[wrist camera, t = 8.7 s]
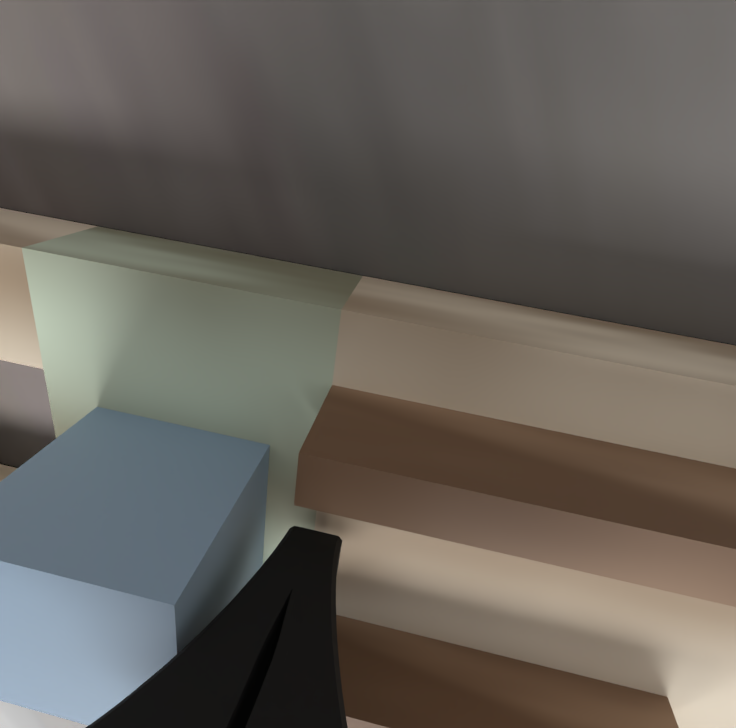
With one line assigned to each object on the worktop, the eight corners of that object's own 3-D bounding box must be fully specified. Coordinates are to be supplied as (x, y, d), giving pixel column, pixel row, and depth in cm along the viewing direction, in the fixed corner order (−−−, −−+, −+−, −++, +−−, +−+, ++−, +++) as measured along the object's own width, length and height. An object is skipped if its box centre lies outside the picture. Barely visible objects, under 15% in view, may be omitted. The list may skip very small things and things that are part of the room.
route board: (887, 741, 16) (1053, 978, 11) (-16, 518, 19) (-164, 641, 14) (1233, 438, 11) (1799, 668, 6) (-111, 187, 13) (-398, 218, 9)
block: (262, 572, 14) (182, 751, 10) (114, 536, 14) (-20, 694, 10) (270, 445, 12) (174, 605, 8) (97, 406, 12) (-77, 541, 8)
